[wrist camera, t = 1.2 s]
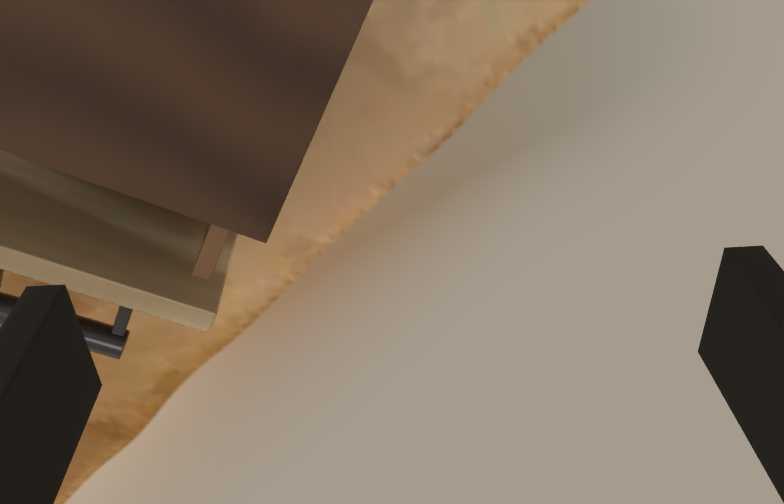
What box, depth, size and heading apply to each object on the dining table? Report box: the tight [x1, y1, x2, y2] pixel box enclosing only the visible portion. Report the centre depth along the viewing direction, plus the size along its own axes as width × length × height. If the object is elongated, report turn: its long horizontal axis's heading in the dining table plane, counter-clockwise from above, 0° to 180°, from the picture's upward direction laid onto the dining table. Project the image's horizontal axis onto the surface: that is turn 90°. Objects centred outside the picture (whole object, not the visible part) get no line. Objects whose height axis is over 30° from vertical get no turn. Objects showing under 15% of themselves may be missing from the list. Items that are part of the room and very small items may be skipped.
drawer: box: [0, 151, 237, 359], centre depth 32 cm, size 20×14×8 cm, turn 155°
